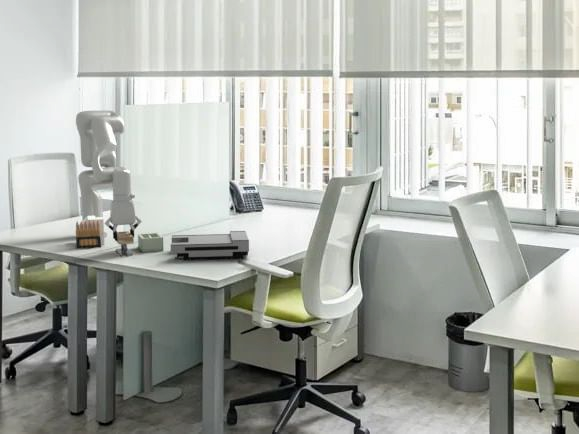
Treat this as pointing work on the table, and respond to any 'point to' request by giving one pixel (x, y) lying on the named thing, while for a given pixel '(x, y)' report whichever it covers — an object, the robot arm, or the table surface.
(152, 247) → the green compartment box
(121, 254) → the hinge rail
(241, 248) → the grey printer
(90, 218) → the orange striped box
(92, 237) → the ammunition clip
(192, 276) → the table surface
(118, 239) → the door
